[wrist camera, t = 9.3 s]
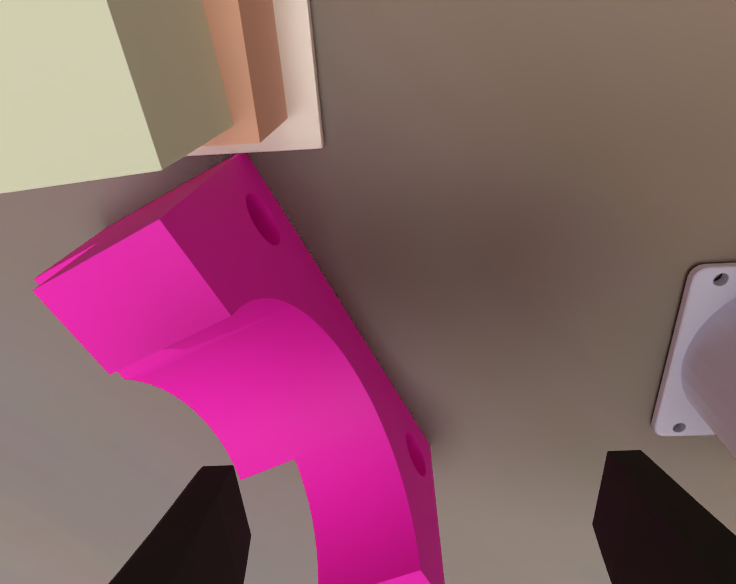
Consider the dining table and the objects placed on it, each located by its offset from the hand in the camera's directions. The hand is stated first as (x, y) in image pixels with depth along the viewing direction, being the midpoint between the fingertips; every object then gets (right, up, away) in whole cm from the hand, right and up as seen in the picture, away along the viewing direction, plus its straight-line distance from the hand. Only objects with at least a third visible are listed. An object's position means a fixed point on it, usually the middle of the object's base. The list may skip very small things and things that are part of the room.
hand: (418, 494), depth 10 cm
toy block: (-4, +2, +11) cm, 12 cm away
